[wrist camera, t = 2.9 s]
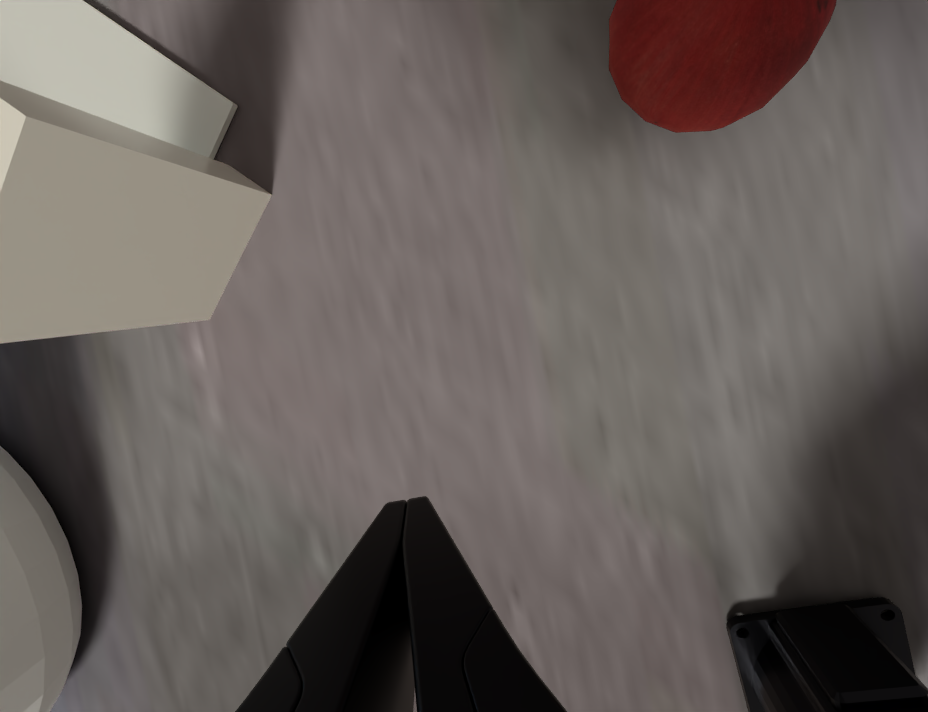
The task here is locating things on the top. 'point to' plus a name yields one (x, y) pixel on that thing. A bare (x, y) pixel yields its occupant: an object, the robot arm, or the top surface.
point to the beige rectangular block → (110, 224)
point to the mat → (108, 73)
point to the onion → (709, 56)
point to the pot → (34, 596)
